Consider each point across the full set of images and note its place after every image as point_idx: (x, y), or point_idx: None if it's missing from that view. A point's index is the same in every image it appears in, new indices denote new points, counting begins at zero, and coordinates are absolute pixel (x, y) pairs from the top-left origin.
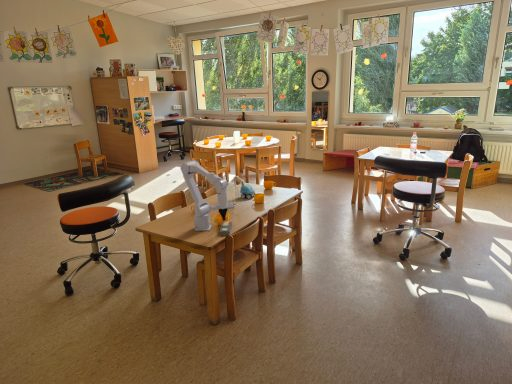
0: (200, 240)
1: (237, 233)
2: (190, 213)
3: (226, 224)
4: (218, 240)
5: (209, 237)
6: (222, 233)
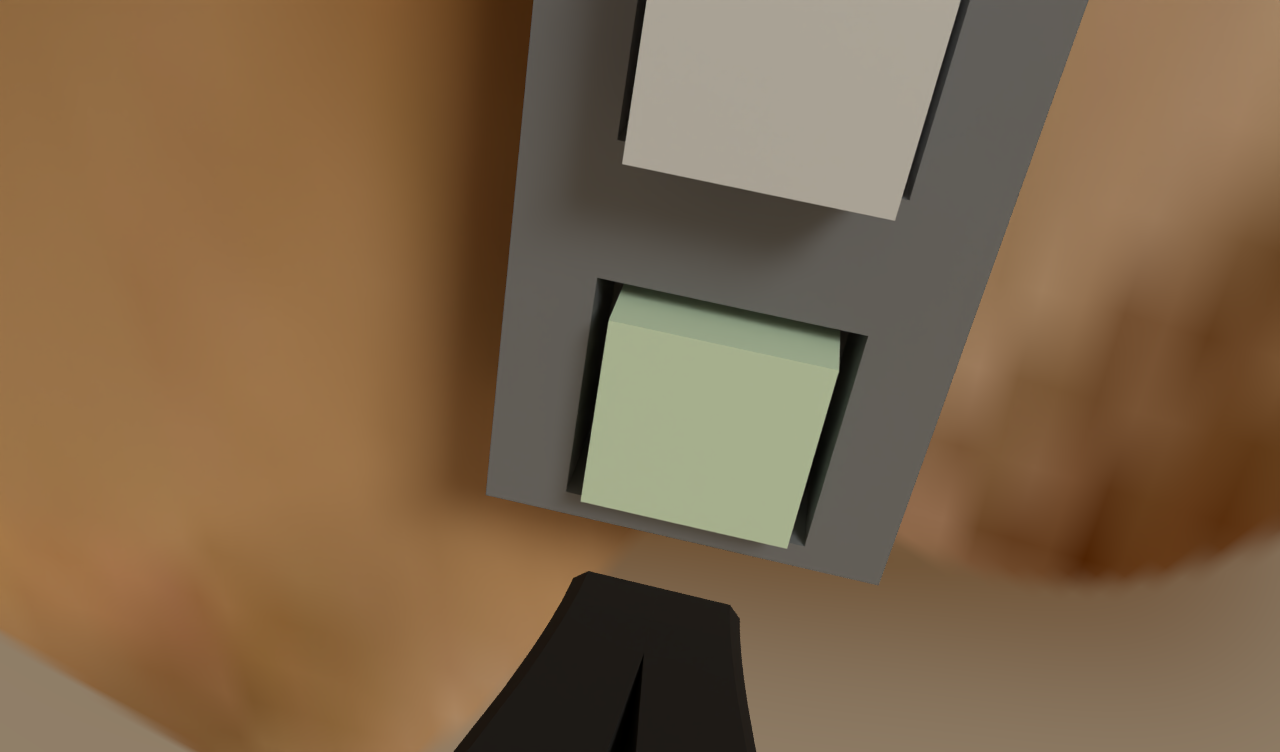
0: (3, 545)
1: (1210, 442)
2: None
3: (832, 110)
4: None
5: (209, 446)
6: None
